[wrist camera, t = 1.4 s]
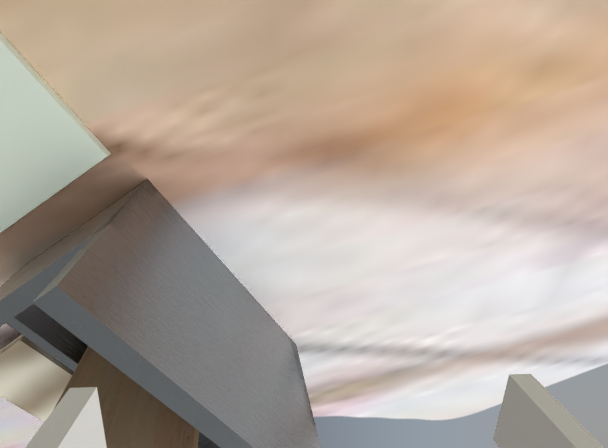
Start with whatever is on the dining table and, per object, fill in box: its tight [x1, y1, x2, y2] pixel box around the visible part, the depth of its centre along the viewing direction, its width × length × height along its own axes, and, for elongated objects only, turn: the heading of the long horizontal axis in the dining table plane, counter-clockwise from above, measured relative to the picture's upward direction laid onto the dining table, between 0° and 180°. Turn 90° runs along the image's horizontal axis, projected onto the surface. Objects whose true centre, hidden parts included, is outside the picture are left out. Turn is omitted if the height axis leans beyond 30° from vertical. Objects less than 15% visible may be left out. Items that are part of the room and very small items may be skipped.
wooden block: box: [54, 346, 199, 448], centre depth 33 cm, size 10×10×20 cm
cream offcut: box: [0, 335, 74, 422], centre depth 40 cm, size 12×7×2 cm, turn 34°
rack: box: [0, 179, 320, 448], centre depth 32 cm, size 28×19×20 cm
